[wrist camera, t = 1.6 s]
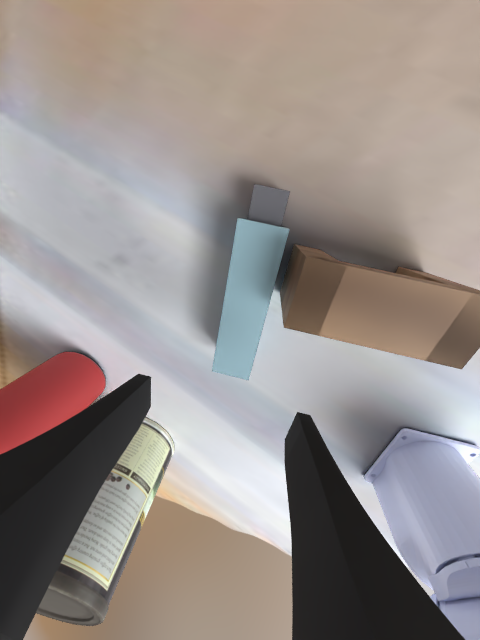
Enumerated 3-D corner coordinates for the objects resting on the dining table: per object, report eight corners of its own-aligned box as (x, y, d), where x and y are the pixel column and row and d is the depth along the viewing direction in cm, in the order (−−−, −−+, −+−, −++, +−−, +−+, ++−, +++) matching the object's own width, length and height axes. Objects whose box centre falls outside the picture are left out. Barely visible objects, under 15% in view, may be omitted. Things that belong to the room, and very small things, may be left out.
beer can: (74, 394, 27) (-55, 506, 17) (46, 351, 25) (-127, 450, 14) (117, 391, 26) (8, 512, 15) (93, 346, 24) (-59, 451, 13)
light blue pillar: (252, 356, 21) (248, 380, 18) (221, 348, 21) (211, 371, 18) (294, 197, 15) (300, 190, 12) (250, 188, 15) (244, 179, 12)
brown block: (397, 319, 18) (461, 369, 12) (279, 292, 18) (283, 327, 12) (425, 272, 16) (516, 302, 10) (294, 243, 16) (306, 256, 10)
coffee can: (182, 465, 31) (119, 636, 18) (118, 459, 32) (20, 612, 20) (165, 414, 27) (68, 589, 14) (94, 410, 28) (-51, 564, 16)
